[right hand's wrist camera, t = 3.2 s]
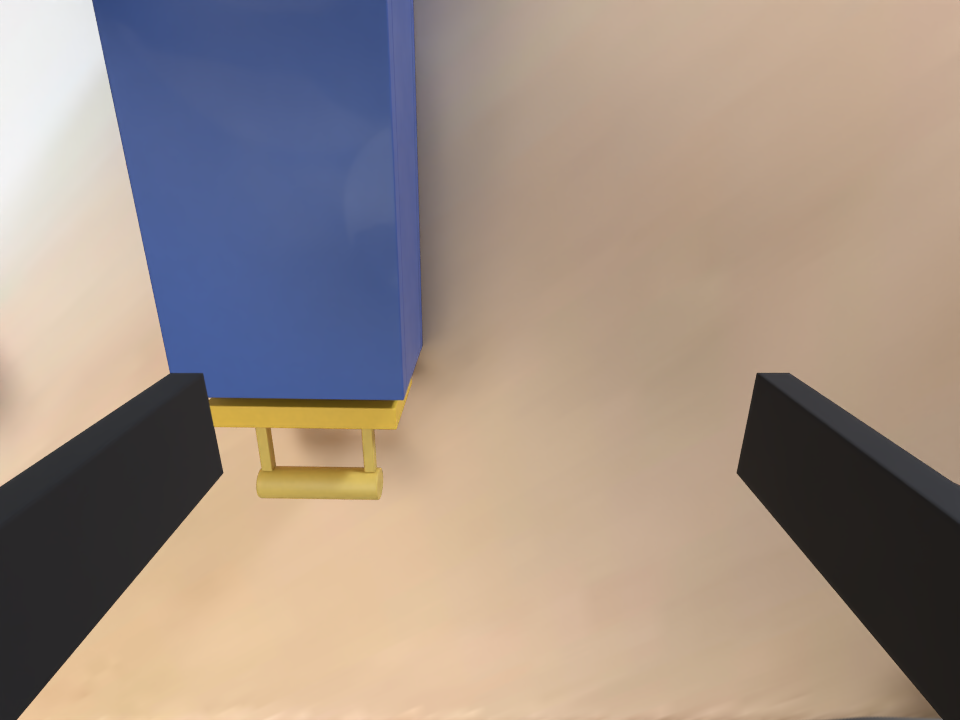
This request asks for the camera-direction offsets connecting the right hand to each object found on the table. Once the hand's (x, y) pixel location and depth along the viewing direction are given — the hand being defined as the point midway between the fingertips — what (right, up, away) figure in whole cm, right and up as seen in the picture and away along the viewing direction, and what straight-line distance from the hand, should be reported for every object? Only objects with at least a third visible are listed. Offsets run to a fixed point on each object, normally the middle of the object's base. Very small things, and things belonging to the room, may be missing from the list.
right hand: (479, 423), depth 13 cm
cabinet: (-9, +12, +16) cm, 22 cm away
